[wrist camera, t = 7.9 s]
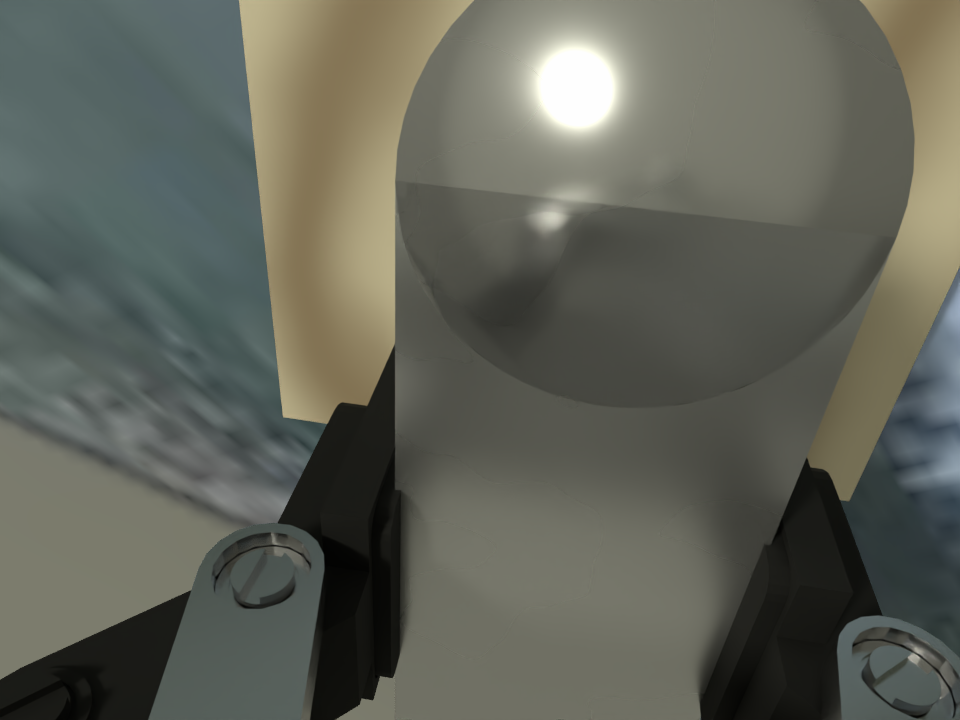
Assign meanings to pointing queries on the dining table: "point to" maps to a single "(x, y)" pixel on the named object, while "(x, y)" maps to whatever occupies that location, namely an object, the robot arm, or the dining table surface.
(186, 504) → the dining table surface
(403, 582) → the grey capsule bar
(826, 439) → the board
